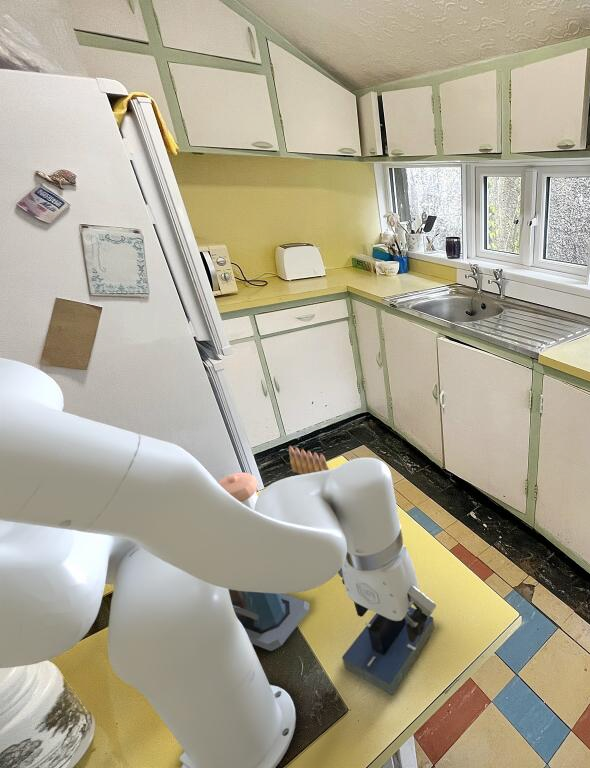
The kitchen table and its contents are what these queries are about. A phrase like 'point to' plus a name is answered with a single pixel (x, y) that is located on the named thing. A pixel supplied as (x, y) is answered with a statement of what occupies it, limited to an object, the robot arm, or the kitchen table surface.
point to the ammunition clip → (306, 462)
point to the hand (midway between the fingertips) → (391, 620)
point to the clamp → (268, 616)
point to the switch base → (385, 657)
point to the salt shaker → (241, 488)
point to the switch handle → (384, 633)
